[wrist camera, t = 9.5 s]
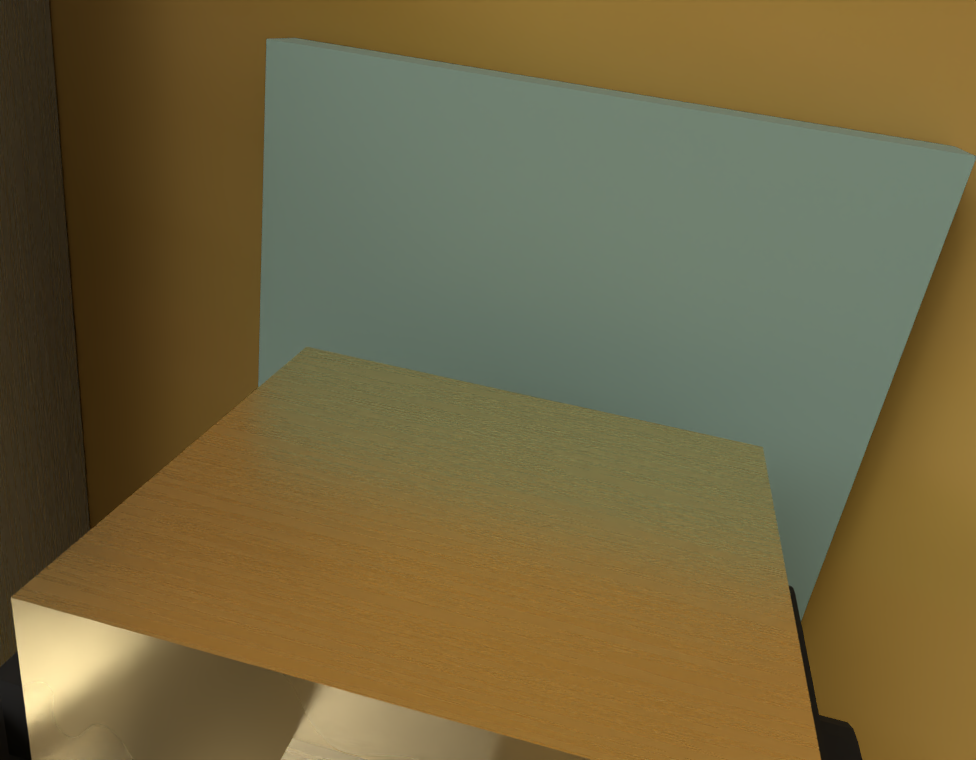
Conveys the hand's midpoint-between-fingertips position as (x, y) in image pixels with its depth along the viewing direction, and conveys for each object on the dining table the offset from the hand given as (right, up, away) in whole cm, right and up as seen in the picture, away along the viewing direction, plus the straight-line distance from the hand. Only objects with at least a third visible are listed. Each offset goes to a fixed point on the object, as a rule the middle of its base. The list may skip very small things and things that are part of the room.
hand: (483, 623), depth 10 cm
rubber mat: (+1, +1, +3) cm, 3 cm away
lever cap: (0, 0, 0) cm, 0 cm away
